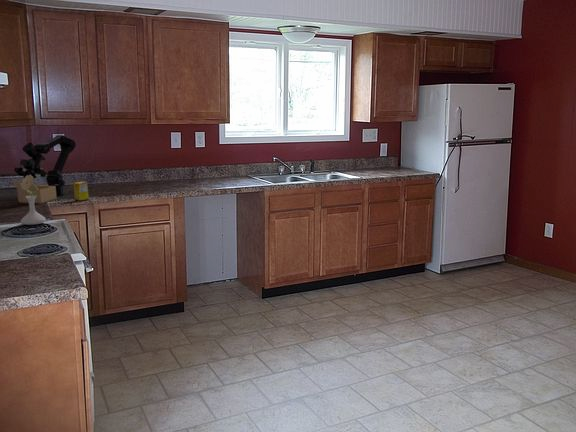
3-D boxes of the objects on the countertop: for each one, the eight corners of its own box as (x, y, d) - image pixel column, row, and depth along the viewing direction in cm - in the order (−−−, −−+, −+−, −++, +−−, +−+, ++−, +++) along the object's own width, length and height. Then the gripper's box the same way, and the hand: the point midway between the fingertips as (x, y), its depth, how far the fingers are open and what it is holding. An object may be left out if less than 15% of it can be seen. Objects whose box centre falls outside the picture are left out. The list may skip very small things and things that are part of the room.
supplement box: (83, 199, 344) (82, 181, 341) (89, 200, 340) (87, 182, 338) (74, 200, 339) (73, 182, 337) (80, 201, 335) (78, 183, 333)
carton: (35, 197, 348) (34, 185, 346) (57, 199, 343) (56, 186, 341) (18, 202, 334) (16, 188, 332) (40, 203, 330) (39, 190, 328)
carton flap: (11, 180, 327) (11, 180, 326) (32, 181, 323) (31, 181, 322) (17, 188, 332) (17, 189, 332) (38, 189, 328) (37, 190, 328)
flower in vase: (19, 223, 281) (13, 173, 276) (43, 220, 288) (38, 171, 282) (24, 228, 271) (18, 176, 265) (49, 225, 277) (44, 174, 272)
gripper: (13, 153, 330) (2, 175, 322) (40, 154, 325) (29, 176, 317) (25, 164, 339) (14, 186, 332) (51, 165, 334) (40, 187, 327)
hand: (24, 183), depth 327 cm, fingers closed, pressing on carton flap
